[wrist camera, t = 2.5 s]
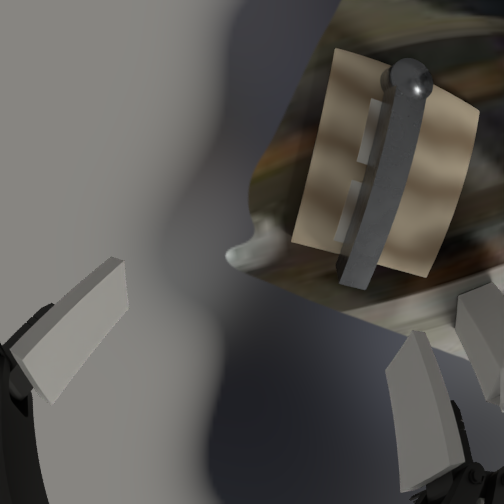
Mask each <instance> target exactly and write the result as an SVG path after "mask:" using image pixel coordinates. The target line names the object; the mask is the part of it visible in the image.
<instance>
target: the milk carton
mask: <svg viewBox="0 0 504 504" xmlns="http://www.w3.org/2000/svg"><path fill="white" fill-rule="evenodd" d="M455 331H456V333H457V335H458V337H459V339H460V341H461V343H462V345H463V347H464V350H465V352H466V354H467V356H468V358H469V360H470V363H471V365H472V367H473V369H474V371H475V374H476V376H477V379H478V381H479V384H480V386H481V389H482V391H483V394H484V397H485V399H486V402H489V403H493V404H496V405H499V406H500V408H501V411H502V412H504V295H503V294H502V293H501V291H500V290H499V289H498V288H497V287H496V285H495V284H494V283H493V282H491V283H489V284H486V285H484V286H481V287H479V288H477V289H474V290H472V291H469V292H467V293H464V294H461V295H459V296H458V304H457V316H456V326H455Z"/></svg>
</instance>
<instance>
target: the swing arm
mask: <svg viewBox="0 0 504 504" xmlns="http://www.w3.org/2000/svg"><path fill="white" fill-rule="evenodd" d="M380 84H381V88H382V90H383V92H384V95H383V100H382V105H381V109H380V114H379V119H378V123H377V128H376V132H375V136H374V140H373V145H372V149H371V153H370V156H369V160H368V164H367V168H366V171H365V175H364V179H363V182H362V186H361V189H360V193H359V196H358V199H357V203H356V206H355V209H354V212H353V215H352V219H351V222H350V225H349V228H348V231H347V234H346V237H345V240H344V243H343V246H342V248H341V251H340V254H339V257H338V260H337V262H336V269H337V275H338V282H339V284H343V285H347V286H351V287H355V288H359V289H363V290H366V288H367V286H368V284H369V281H370V279H371V277H372V275H373V272H374V270H375V268H376V265H377V263H378V260H379V258H380V256H381V253H382V251H383V248H384V246H385V243H386V240H387V238H388V235H389V232H390V230H391V227H392V224H393V222H394V219H395V216H396V213H397V210H398V207H399V204H400V201H401V198H402V195H403V192H404V189H405V185H406V182H407V179H408V175H409V172H410V168H411V165H412V161H413V157H414V153H415V149H416V145H417V141H418V137H419V133H420V128H421V124H422V119H423V114H424V109H425V103H426V98H427V97H429V96H430V94H431V93H432V90H433V79H432V76H431V74H430V72H429V70H428V69H427V68H426V67H425V66H424V65H423V64H422V63H421V62H419V61H417V60H415V59H412V58H404V59H401V60H399V61H398V62H396V63H395V64H393V65H392V66H390V67H389V68H387V69H386V70H385V71H384V72H383V73H382V75H381V78H380Z"/></svg>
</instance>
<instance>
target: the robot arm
mask: <svg viewBox="0 0 504 504" xmlns="http://www.w3.org/2000/svg"><path fill="white" fill-rule="evenodd" d="M128 308H129V304H128V295H127V286H126V276H125V265H124V261H123V260H120V259H117V258H114V257H110V258H109V259H108V260H106V261H105V262H104V263H103V264H101V265H100V266H99V267H98V268H97V269H95V270H94V271H93V272H92V273H91V274H89V275H88V276H87V277H86V278H85V279H84V280H82V281H81V282H80V283H79V284H78V285H76V286H75V287H74V288H73V289H72V290H71V291H70V292H69V293H67V294H66V295H65V296H64V297H63V298H62V299H61V300H60V301H59V302H57V303H56V304H53V303H51V304H48V305H47V306H45V307H43V308H41V309H40V310H39V311H38V312H36V314H34V316H33V317H31V318H30V319H29V320H28V321H27V323H25V324H24V325H23V326H22V327H21V328H20V329H19V330H18V331H17V332H16V333H15V334H14V335H13V336H12V337H11V338H10V339H9V340H8V341H7V342H6V343H5V344H4V345H1V343H0V504H49V502H48V498H47V495H46V491H45V487H44V483H43V479H42V474H41V469H40V464H39V459H38V453H37V446H36V438H35V429H34V418H33V401H32V400H33V399H32V393H31V390H32V389H33V388H34V389H35V391H36V392H37V393H38V395H39V396H40V397H41V398H43V399H44V400H45V401H47V402H48V403H49V404H51V405H53V404H54V402H55V401H56V399H57V398H58V397H59V395H60V394H61V393H62V391H63V390H64V389H65V387H66V386H67V385H68V383H69V382H70V380H71V379H72V378H73V377H74V375H75V374H76V373H77V371H78V370H79V369H80V367H81V366H82V365H83V364H84V362H85V361H86V360H87V359H88V357H89V356H90V355H91V353H92V352H93V351H94V349H95V348H96V347H97V346H98V345H99V343H100V342H101V341H102V340H103V339H104V337H105V336H106V335H107V334H108V332H109V331H110V330H111V329H112V328H113V326H114V325H115V324H116V323H117V322H118V320H119V319H120V318H121V317H122V316H123V314H124V313H125V312H126V311H127V310H128ZM385 372H386V377H387V381H388V387H389V392H390V398H391V404H392V410H393V417H394V424H395V432H396V440H397V449H398V460H399V473H400V489H401V490H400V491H401V492H407V491H412V490H417V489H419V488H421V487H423V486H424V485H426V490H424V491H422V492H420V493H418V494H415V495H413V496H412V497H411V498H410V499H409V500H413V499H416V498H418V497H419V498H418V499H417V500H415V501H414V503H415V504H504V466H503V467H502V468H500V469H499V470H497V471H496V472H489V471H484V468H483V466H482V465H481V464H480V463H477V462H473V460H472V456H471V452H470V447H469V443H468V438H467V435H466V431H465V430H464V429H465V427H464V423H463V422H462V420H463V419H462V416H461V412H460V409H459V408H458V406H457V405H456V403H455V402H454V400H451V401H450V399H449V395H448V392H447V389H446V386H445V383H444V380H443V378H442V374H441V372H440V369H439V366H438V364H437V361H436V358H435V356H434V353H433V351H432V348H431V345H430V343H429V340H428V338H427V336H426V333H425V332H420V331H414V330H412V332H411V333H410V335H409V336H408V338H407V340H406V341H405V343H404V344H403V346H402V347H401V349H400V350H399V352H398V353H397V354H396V356H395V357H394V359H393V360H392V362H391V363H390V364H389V366H388V367H387V369H386V370H385Z"/></svg>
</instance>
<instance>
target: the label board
mask: <svg viewBox="0 0 504 504" xmlns="http://www.w3.org/2000/svg"><path fill="white" fill-rule="evenodd" d="M389 67H390V65H388V64H385V63H382V62H380V61H377V60H374V59H371V58H368V57H365V56H362V55H359V54H356V53H352V52H349V51H345V50H342V49H338V48H335V50H334V54H333V60H332V65H331V70H330V75H329V80H328V85H327V90H326V95H325V100H324V105H323V109H322V114H321V119H320V123H319V128H318V132H317V137H316V141H315V146H314V150H313V154H312V159H311V163H310V167H309V171H308V175H307V180H306V184H305V188H304V192H303V196H302V200H301V204H300V208H299V212H298V216H297V219H296V223H295V227H294V231H293V235H292V240H291V242H294V243H298V244H302V245H306V246H310V247H314V248H318V249H322V250H325V251H329V252H333V253H337V254H340V251H341V248H342V246H343V243H344V240H345V237H346V234H347V231H348V228H349V225H350V222H351V219H352V215H353V212H354V209H355V206H356V203H357V199H358V196H359V193H360V189H361V186H362V182H363V179H364V175H365V171H366V168H367V164H368V160H369V156H370V153H371V149H372V145H373V140H374V136H375V132H376V128H377V123H378V119H379V114H380V109H381V105H382V100H383V95H384V92H383V90H382V88H381V84H380V78H381V75H382V73H383V72H384V71H385V70H386V69H387V68H389ZM479 112H480V111H479V110H477V109H476V108H474V107H472V106H471V105H469V104H468V103H466V102H464V101H463V100H461V99H459V98H458V97H456V96H454V95H452V94H450V93H449V92H447V91H445V90H443V89H441V88H439V87H437V86H435V85H433V90H432V93H431V94H430V96H429V97H427V98H426V103H425V109H424V114H423V119H422V124H421V128H420V133H419V137H418V141H417V145H416V149H415V153H414V157H413V161H412V165H411V168H410V172H409V175H408V179H407V182H406V185H405V189H404V192H403V195H402V198H401V201H400V204H399V207H398V210H397V213H396V216H395V219H394V222H393V224H392V227H391V230H390V232H389V235H388V238H387V240H386V243H385V246H384V248H383V251H382V253H381V256H380V258H379V260H378V263H377V264H378V265H382V266H385V267H389V268H393V269H396V270H400V271H404V272H407V273H411V274H414V275H418V276H421V277H425V278H426V277H427V275H428V273H429V271H430V269H431V267H432V265H433V263H434V261H435V258H436V256H437V254H438V252H439V249H440V247H441V245H442V242H443V240H444V237H445V235H446V232H447V230H448V227H449V225H450V222H451V219H452V217H453V214H454V211H455V208H456V205H457V202H458V199H459V196H460V193H461V190H462V187H463V184H464V180H465V177H466V173H467V169H468V166H469V162H470V158H471V154H472V149H473V145H474V140H475V135H476V130H477V124H478V119H479Z"/></svg>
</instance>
